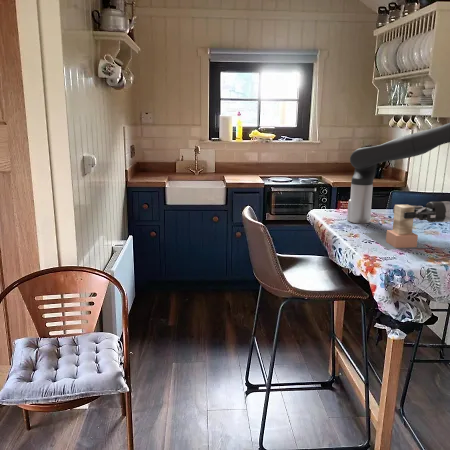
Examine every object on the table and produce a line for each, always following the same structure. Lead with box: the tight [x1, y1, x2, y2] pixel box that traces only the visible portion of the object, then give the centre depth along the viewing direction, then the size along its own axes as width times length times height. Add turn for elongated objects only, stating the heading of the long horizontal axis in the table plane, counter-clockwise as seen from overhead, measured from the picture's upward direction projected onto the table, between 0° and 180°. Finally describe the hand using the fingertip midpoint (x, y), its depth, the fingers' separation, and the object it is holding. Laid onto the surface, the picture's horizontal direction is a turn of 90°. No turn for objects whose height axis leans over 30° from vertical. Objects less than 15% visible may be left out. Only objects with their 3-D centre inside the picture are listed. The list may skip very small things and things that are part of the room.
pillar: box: [392, 204, 414, 235], centre depth 167 cm, size 5×5×10 cm
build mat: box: [363, 231, 428, 251], centre depth 175 cm, size 15×23×1 cm, turn 5°
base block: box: [386, 229, 419, 248], centre depth 169 cm, size 8×8×4 cm
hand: (398, 212), depth 167 cm, fingers open, 8 cm apart
